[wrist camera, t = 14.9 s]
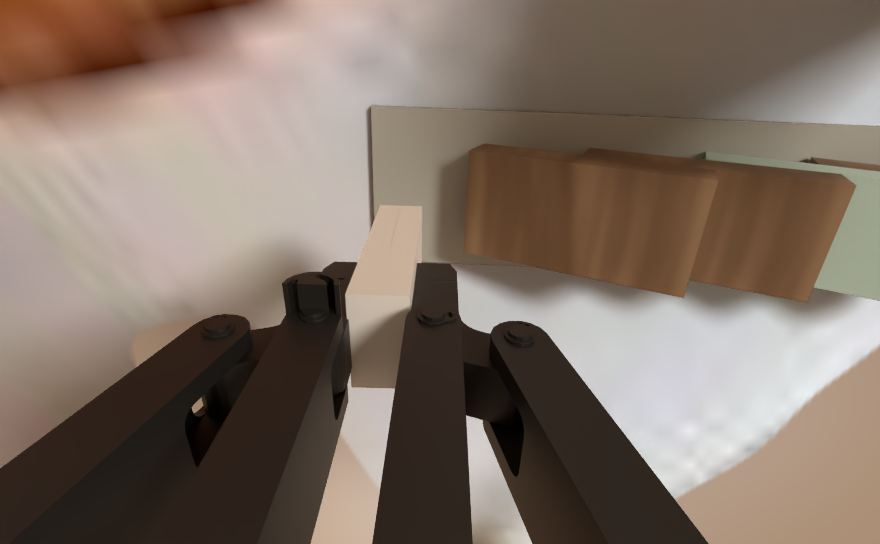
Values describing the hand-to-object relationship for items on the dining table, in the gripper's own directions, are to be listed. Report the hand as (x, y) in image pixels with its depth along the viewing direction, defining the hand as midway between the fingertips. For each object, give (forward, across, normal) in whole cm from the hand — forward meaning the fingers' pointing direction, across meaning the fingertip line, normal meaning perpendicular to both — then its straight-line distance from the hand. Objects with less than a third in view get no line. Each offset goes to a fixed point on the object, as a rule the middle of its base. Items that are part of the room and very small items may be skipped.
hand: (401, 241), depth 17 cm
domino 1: (+6, +3, 0) cm, 7 cm away
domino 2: (+6, +8, 0) cm, 10 cm away
